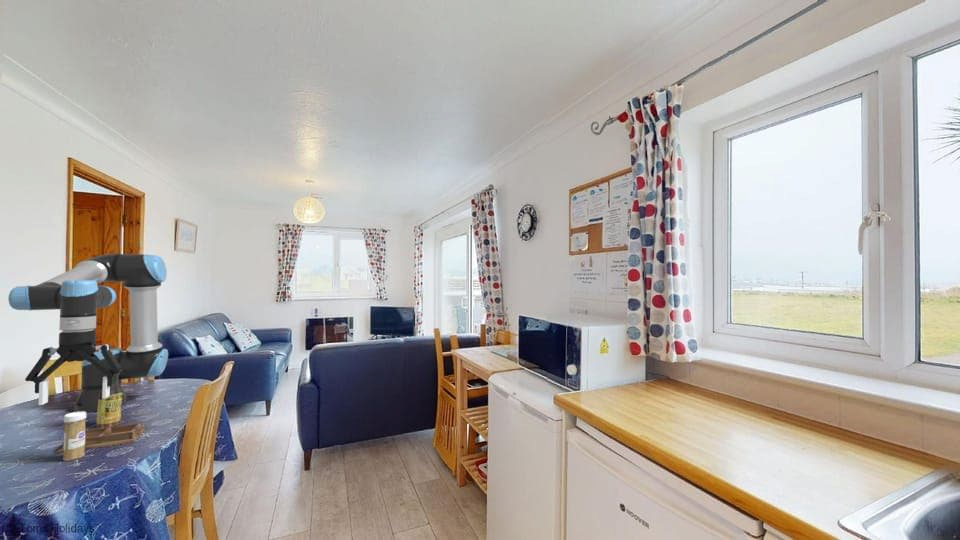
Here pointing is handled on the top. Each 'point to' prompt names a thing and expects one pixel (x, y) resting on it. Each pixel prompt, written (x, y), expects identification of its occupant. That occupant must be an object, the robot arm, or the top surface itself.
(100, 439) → the slot rack
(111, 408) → the sauce bottle
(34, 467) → the top surface
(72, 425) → the sprinkles bottle
